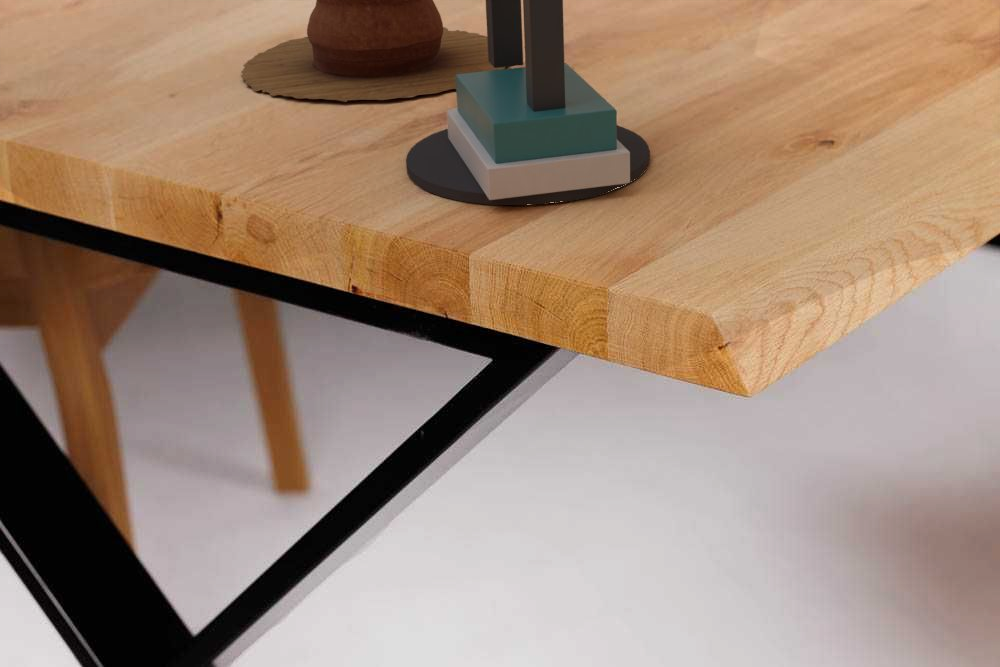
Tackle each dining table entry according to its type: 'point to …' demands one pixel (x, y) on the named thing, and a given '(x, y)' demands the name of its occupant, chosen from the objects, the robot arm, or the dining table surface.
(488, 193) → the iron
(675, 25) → the dining table surface
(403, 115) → the dining table surface
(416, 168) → the swivel rest
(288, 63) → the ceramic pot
